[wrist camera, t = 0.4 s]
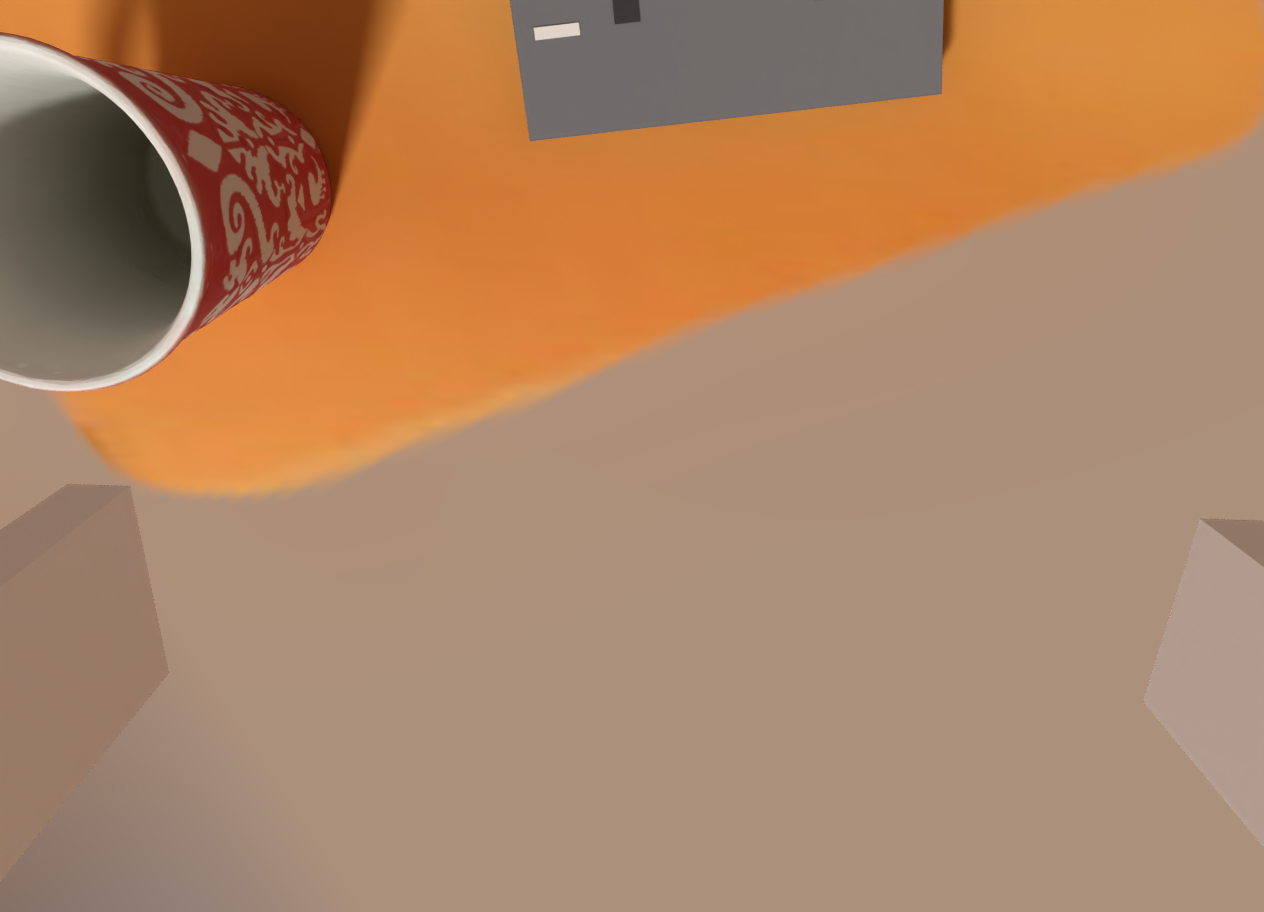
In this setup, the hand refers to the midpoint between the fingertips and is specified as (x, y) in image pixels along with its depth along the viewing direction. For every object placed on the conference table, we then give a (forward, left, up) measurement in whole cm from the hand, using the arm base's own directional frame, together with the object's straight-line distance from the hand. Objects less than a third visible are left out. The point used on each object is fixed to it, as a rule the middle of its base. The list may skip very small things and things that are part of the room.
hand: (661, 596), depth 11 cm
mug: (-4, -17, -27) cm, 32 cm away
